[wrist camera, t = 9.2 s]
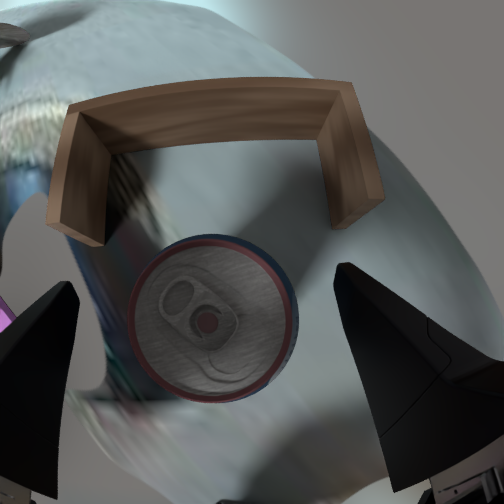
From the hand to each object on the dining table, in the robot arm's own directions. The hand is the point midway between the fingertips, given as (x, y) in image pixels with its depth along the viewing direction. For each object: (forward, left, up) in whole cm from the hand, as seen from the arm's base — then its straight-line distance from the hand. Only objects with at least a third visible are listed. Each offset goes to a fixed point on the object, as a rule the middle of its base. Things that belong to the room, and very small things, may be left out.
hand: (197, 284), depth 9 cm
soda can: (-1, 0, -13) cm, 13 cm away
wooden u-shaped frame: (+8, +2, -13) cm, 15 cm away
